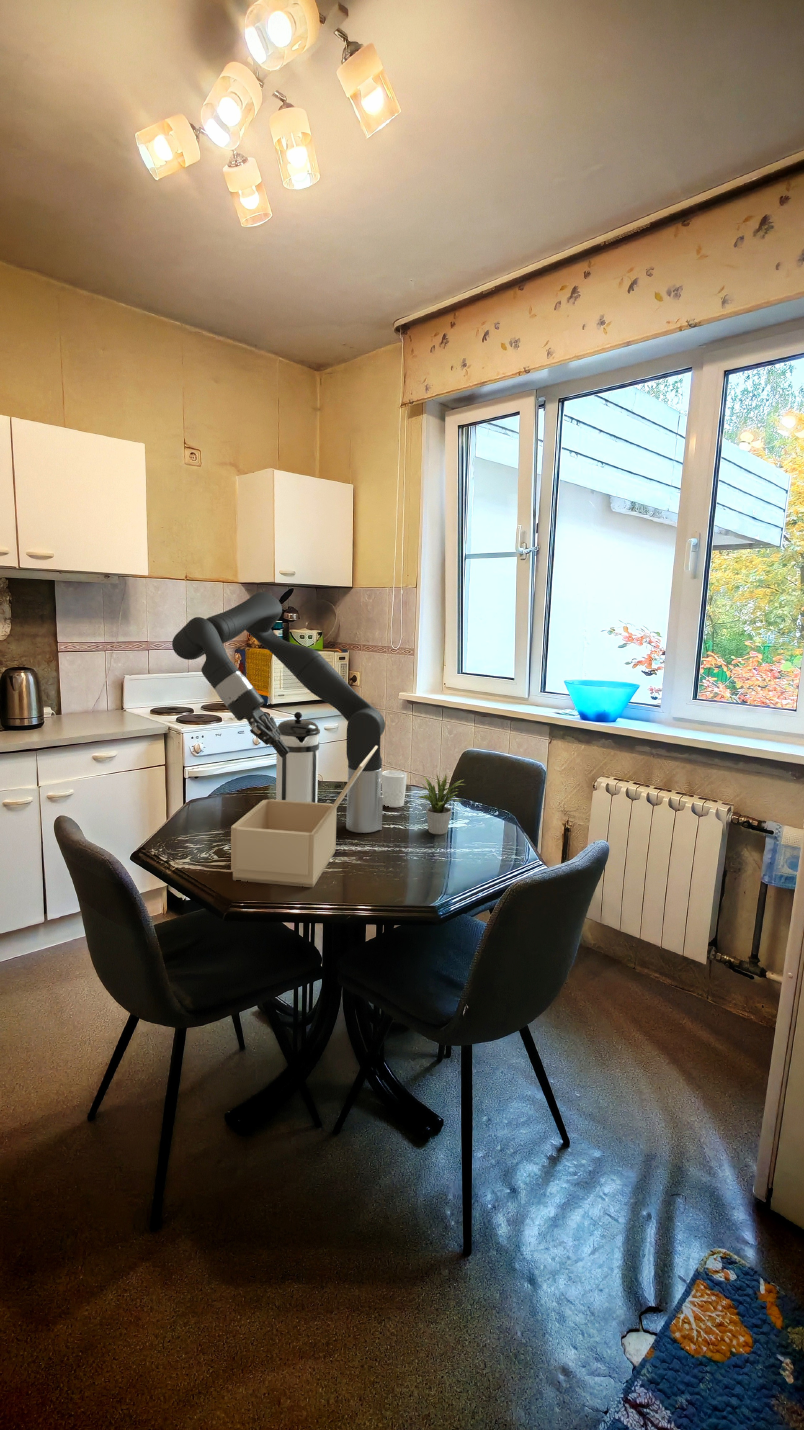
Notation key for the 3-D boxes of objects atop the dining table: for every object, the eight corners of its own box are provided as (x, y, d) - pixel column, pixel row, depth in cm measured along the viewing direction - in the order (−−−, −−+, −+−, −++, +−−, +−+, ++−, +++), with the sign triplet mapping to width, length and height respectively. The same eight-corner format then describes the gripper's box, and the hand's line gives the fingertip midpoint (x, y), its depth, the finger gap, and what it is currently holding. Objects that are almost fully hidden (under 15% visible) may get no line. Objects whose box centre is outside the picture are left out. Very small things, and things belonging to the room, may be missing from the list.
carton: (335, 850, 163) (337, 804, 161) (312, 888, 140) (313, 835, 138) (264, 844, 165) (264, 798, 163) (229, 881, 142) (229, 828, 140)
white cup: (387, 809, 199) (388, 777, 197) (376, 802, 206) (377, 771, 204) (410, 806, 202) (411, 775, 201) (398, 799, 209) (399, 769, 208)
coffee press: (334, 810, 195) (336, 711, 191) (298, 823, 182) (300, 717, 177) (291, 799, 205) (292, 705, 200) (254, 811, 191) (254, 710, 186)
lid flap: (336, 803, 160) (338, 805, 160) (314, 832, 139) (316, 834, 139) (376, 745, 157) (378, 746, 157) (359, 765, 135) (362, 767, 135)
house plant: (469, 842, 173) (473, 782, 170) (418, 841, 172) (420, 781, 169) (460, 824, 187) (464, 769, 184) (413, 823, 186) (415, 768, 183)
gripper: (235, 702, 157) (280, 758, 158) (217, 709, 144) (266, 770, 145) (259, 683, 156) (304, 740, 157) (243, 688, 143) (292, 750, 144)
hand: (286, 754), depth 151 cm, fingers closed
